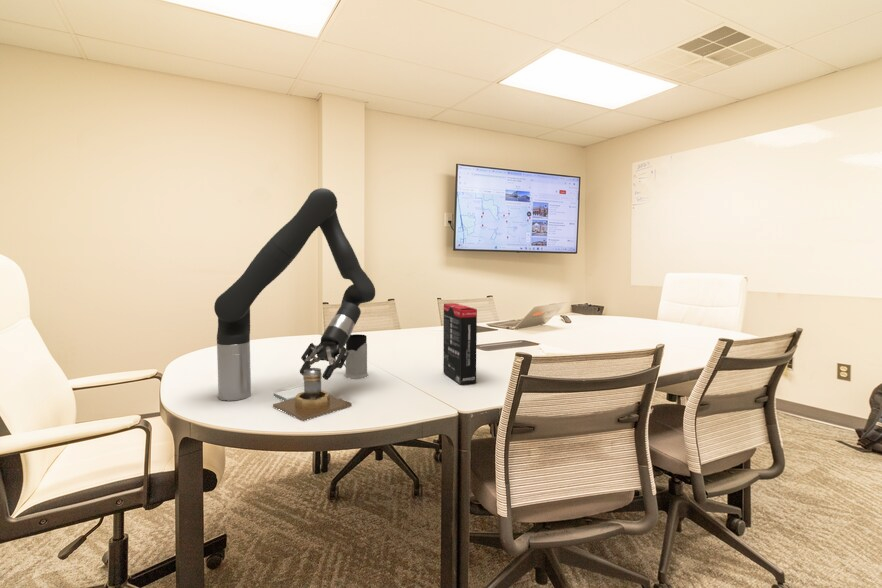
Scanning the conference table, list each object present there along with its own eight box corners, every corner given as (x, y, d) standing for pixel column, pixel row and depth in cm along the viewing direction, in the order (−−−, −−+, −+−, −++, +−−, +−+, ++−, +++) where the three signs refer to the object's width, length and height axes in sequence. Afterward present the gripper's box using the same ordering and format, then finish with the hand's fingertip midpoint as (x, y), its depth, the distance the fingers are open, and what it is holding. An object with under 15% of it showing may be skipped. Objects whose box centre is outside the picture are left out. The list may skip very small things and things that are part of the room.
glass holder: (360, 380, 155) (360, 339, 154) (327, 376, 160) (326, 336, 159) (372, 374, 164) (372, 335, 163) (339, 370, 168) (339, 332, 167)
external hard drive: (273, 397, 136) (308, 389, 145) (286, 403, 131) (322, 394, 140) (273, 392, 136) (308, 384, 145) (286, 398, 131) (322, 389, 140)
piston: (300, 403, 127) (299, 370, 126) (315, 399, 131) (314, 366, 130) (310, 407, 123) (309, 373, 123) (325, 403, 127) (325, 369, 127)
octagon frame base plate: (273, 407, 126) (272, 395, 126) (320, 394, 138) (320, 384, 138) (303, 421, 116) (303, 408, 115) (351, 406, 128) (351, 394, 128)
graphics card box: (477, 384, 152) (479, 307, 150) (459, 386, 150) (460, 308, 147) (457, 372, 168) (459, 302, 166) (441, 373, 165) (442, 303, 163)
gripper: (314, 323, 136) (288, 366, 127) (351, 326, 130) (326, 372, 121) (326, 337, 142) (301, 379, 132) (361, 341, 136) (338, 386, 126)
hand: (313, 376), depth 127 cm, fingers open, 8 cm apart
